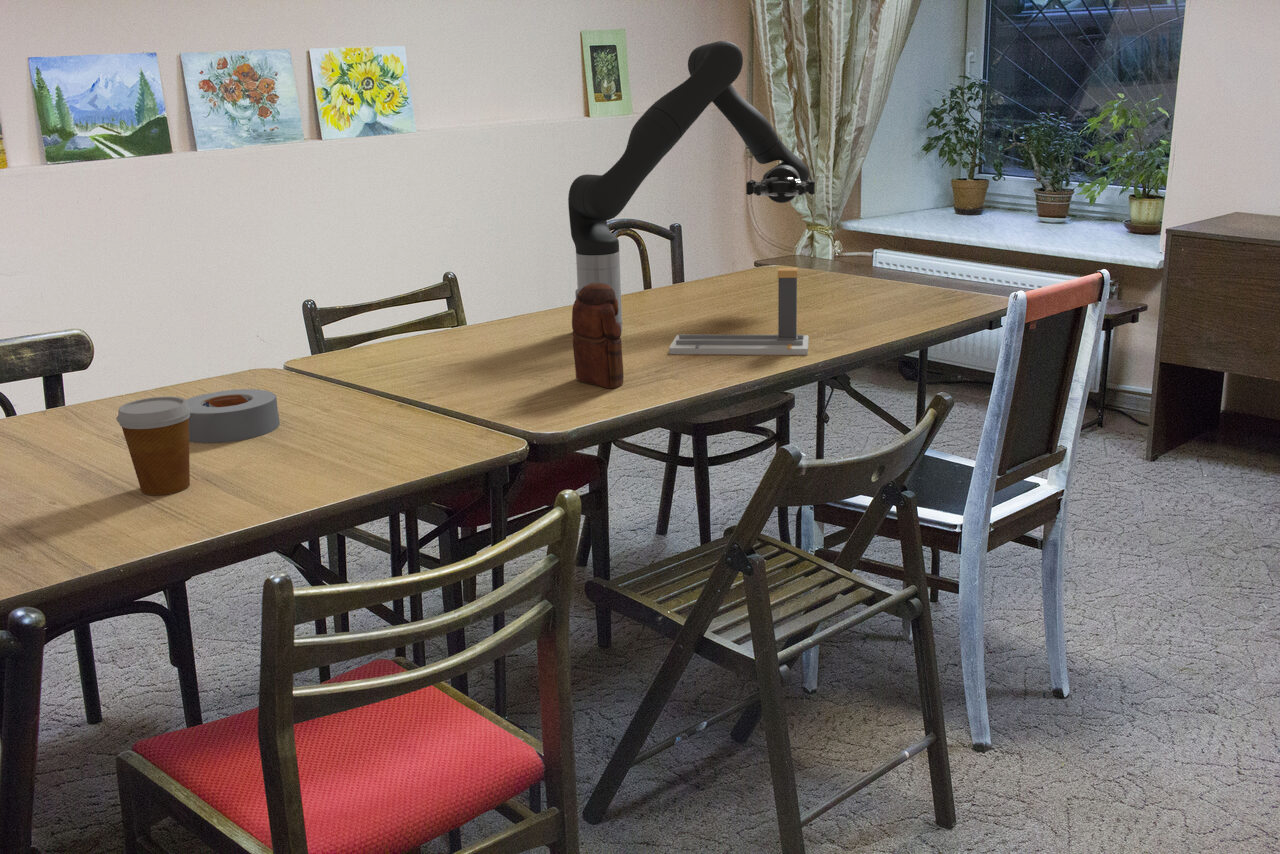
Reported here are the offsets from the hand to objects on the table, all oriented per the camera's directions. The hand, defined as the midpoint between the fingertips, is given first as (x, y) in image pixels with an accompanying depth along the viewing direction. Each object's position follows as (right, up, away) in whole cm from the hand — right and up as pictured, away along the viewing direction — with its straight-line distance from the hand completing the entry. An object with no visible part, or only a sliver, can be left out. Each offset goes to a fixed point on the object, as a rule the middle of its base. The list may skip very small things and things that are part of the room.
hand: (779, 190), depth 239 cm
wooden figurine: (-36, -41, -28) cm, 61 cm away
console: (-8, -33, -6) cm, 34 cm away
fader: (+1, -31, -7) cm, 32 cm away
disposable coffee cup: (-94, -57, -77) cm, 134 cm away
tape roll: (-95, -49, -50) cm, 118 cm away
